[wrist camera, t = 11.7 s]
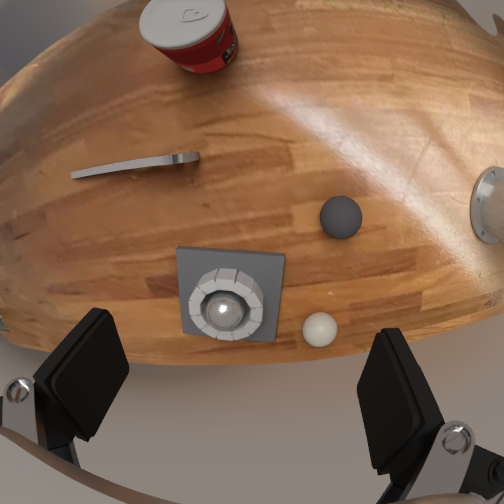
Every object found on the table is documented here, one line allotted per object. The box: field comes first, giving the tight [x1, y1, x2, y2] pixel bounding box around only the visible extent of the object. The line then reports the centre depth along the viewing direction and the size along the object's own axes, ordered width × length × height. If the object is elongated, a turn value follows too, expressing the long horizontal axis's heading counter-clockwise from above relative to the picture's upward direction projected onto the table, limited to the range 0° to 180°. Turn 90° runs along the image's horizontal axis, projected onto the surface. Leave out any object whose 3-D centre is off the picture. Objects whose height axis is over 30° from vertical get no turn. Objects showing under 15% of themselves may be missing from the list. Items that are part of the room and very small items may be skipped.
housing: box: [176, 246, 285, 342], centre depth 36 cm, size 14×14×4 cm
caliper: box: [71, 152, 199, 179], centre depth 29 cm, size 20×1×6 cm, turn 93°
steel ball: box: [206, 291, 244, 329], centre depth 35 cm, size 5×5×5 cm
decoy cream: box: [302, 312, 337, 347], centre depth 36 cm, size 5×5×5 cm
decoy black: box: [320, 196, 362, 239], centre depth 30 cm, size 5×5×5 cm
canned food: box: [139, 0, 238, 73], centre depth 21 cm, size 8×8×11 cm
